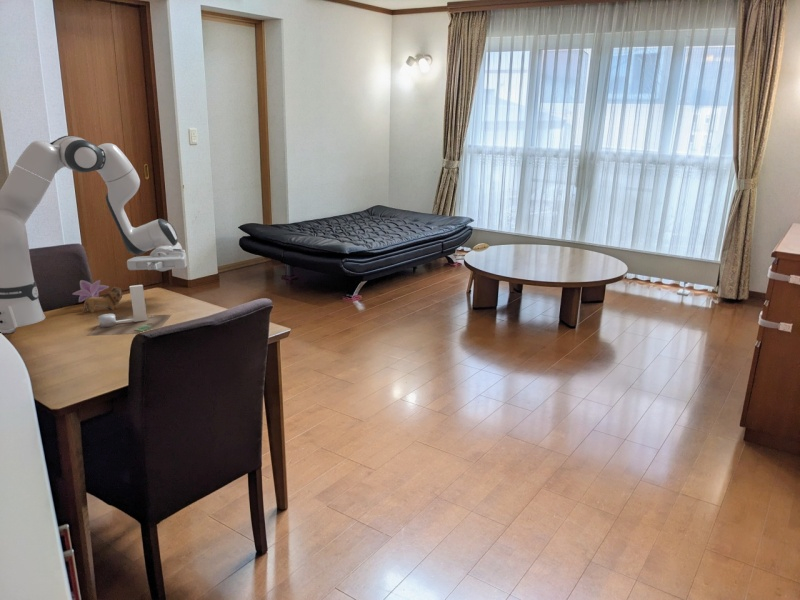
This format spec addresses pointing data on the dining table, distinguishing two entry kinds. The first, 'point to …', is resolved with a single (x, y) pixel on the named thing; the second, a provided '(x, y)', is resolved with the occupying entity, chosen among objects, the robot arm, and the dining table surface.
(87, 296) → the lily
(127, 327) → the dial board
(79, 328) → the dining table surface
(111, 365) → the dining table surface
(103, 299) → the lion figurine
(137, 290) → the tuning peg
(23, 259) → the robot arm
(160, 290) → the dining table surface
